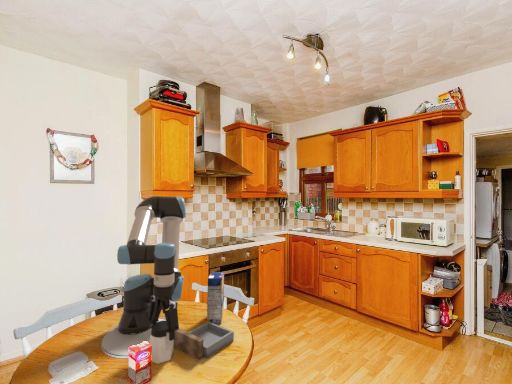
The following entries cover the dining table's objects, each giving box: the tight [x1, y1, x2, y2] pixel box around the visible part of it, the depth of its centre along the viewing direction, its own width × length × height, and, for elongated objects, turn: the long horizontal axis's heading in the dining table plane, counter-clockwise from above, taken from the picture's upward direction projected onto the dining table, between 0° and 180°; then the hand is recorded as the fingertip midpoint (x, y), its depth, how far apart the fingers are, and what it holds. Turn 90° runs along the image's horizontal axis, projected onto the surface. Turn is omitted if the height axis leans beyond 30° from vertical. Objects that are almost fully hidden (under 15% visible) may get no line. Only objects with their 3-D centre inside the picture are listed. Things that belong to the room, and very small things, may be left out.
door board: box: [173, 328, 204, 361], centre depth 106 cm, size 17×3×7 cm, turn 55°
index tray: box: [187, 321, 235, 359], centre depth 112 cm, size 15×16×4 cm
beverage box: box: [206, 271, 225, 325], centre depth 135 cm, size 7×11×22 cm, turn 1°
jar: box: [149, 320, 174, 365], centre depth 102 cm, size 9×8×12 cm
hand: (162, 344), depth 102 cm, fingers closed on jar, 8 cm apart
